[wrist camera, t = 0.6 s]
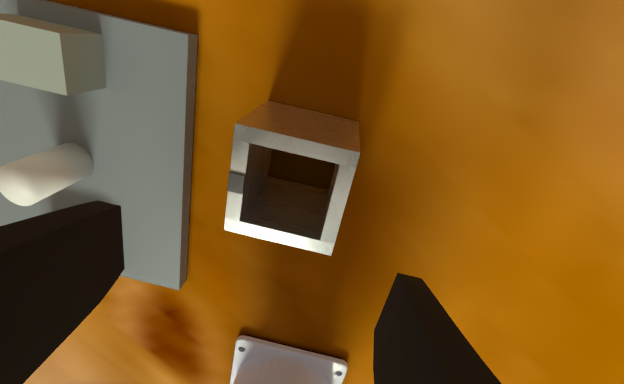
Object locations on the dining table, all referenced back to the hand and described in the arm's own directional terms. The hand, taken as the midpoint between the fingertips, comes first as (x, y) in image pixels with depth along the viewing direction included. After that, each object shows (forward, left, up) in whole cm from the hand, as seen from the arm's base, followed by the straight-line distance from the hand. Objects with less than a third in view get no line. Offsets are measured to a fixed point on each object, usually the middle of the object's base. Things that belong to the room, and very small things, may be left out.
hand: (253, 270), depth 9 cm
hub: (0, 0, -10) cm, 10 cm away
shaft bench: (-3, +12, -10) cm, 16 cm away
